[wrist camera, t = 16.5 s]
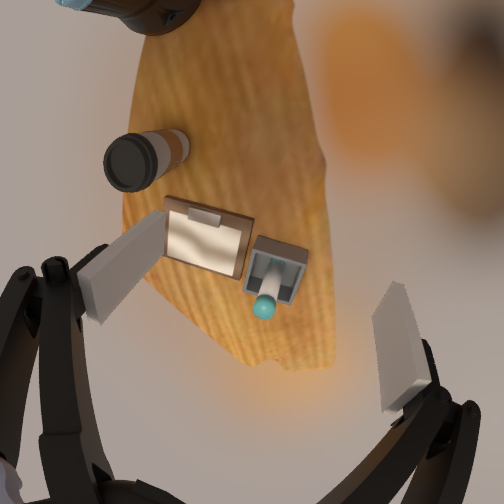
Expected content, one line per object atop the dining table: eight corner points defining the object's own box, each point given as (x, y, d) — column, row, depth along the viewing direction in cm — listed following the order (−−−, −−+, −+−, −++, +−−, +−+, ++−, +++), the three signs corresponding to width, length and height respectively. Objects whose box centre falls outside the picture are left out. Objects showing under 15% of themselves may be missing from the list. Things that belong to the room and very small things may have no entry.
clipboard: (167, 195, 50) (162, 198, 49) (254, 218, 49) (251, 223, 47) (163, 252, 57) (159, 257, 55) (240, 277, 56) (238, 283, 54)
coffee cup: (170, 177, 48) (121, 206, 36) (147, 141, 46) (92, 159, 33) (205, 152, 45) (160, 175, 32) (179, 114, 42) (126, 122, 29)
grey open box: (258, 235, 50) (252, 248, 46) (308, 249, 49) (306, 264, 45) (248, 275, 55) (242, 291, 51) (293, 289, 54) (290, 305, 50)
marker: (270, 255, 51) (255, 300, 40) (287, 260, 51) (276, 306, 40) (266, 269, 53) (250, 315, 42) (282, 274, 53) (271, 321, 41)
